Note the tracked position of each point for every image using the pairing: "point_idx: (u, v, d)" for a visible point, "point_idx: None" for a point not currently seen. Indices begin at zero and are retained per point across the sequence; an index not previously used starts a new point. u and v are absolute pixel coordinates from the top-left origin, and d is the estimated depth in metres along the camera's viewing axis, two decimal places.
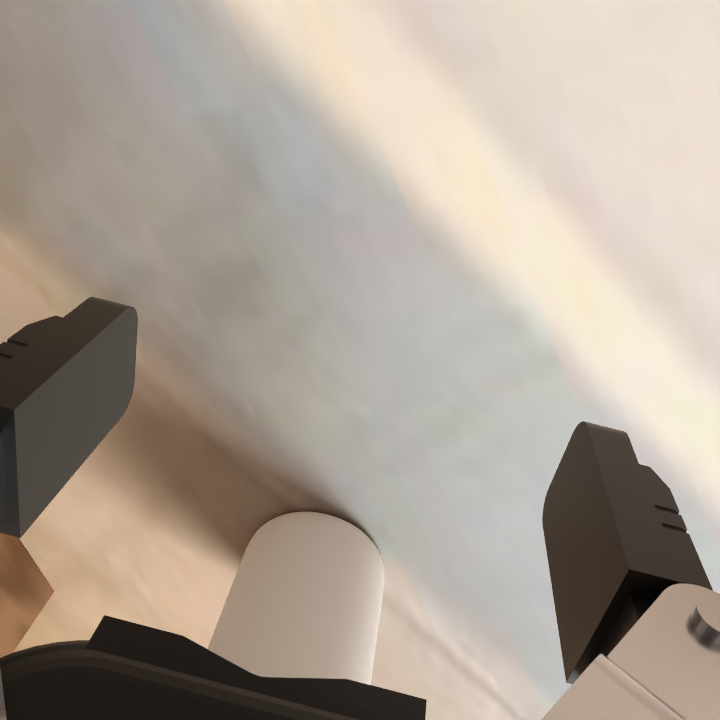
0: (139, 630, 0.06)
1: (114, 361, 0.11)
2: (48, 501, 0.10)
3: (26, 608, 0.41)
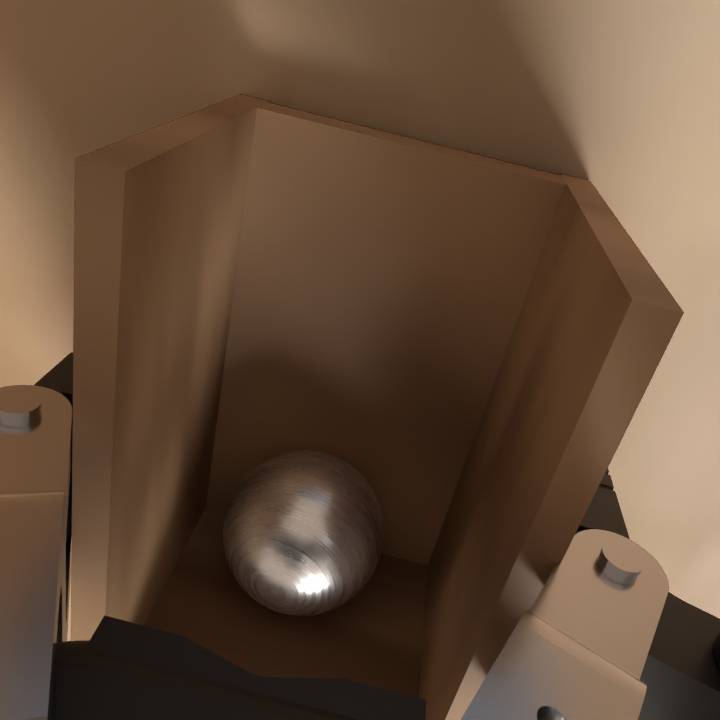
0: (139, 629, 0.06)
1: None
2: None
3: None
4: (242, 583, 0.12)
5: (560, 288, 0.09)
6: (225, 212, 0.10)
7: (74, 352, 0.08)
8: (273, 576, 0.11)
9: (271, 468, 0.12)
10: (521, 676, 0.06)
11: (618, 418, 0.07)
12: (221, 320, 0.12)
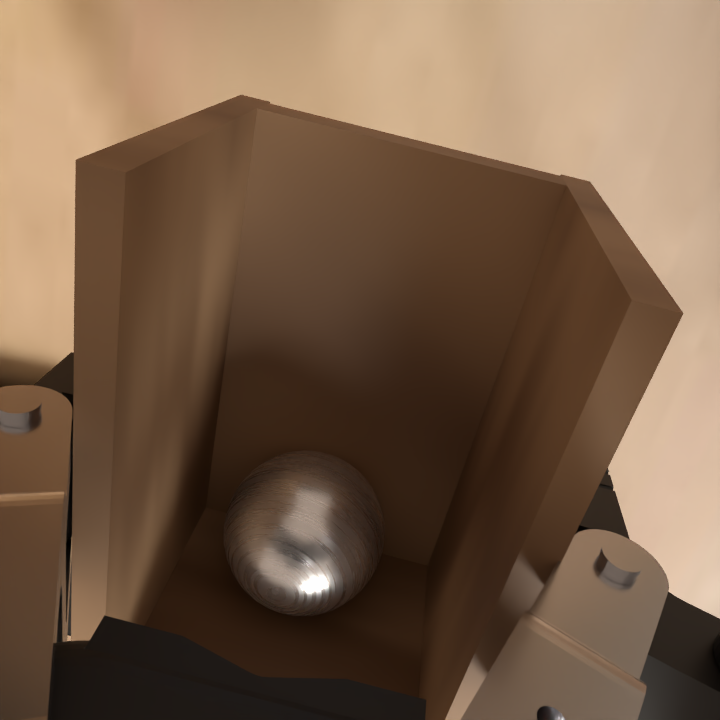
0: (139, 630, 0.06)
1: None
2: None
3: None
4: (242, 583, 0.12)
5: (560, 289, 0.09)
6: (226, 212, 0.10)
7: (75, 352, 0.08)
8: (274, 576, 0.11)
9: (272, 468, 0.12)
10: (521, 676, 0.06)
11: (618, 419, 0.07)
12: (221, 320, 0.12)
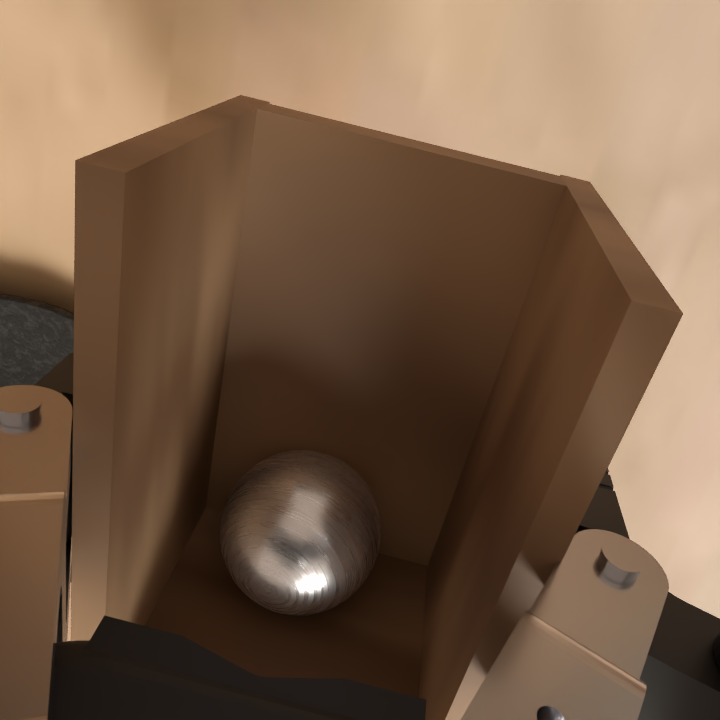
0: (139, 630, 0.06)
1: None
2: None
3: None
4: (236, 580, 0.12)
5: (560, 289, 0.09)
6: (226, 213, 0.10)
7: (74, 352, 0.08)
8: (266, 574, 0.11)
9: (269, 466, 0.12)
10: (521, 676, 0.06)
11: (617, 419, 0.07)
12: (221, 321, 0.12)
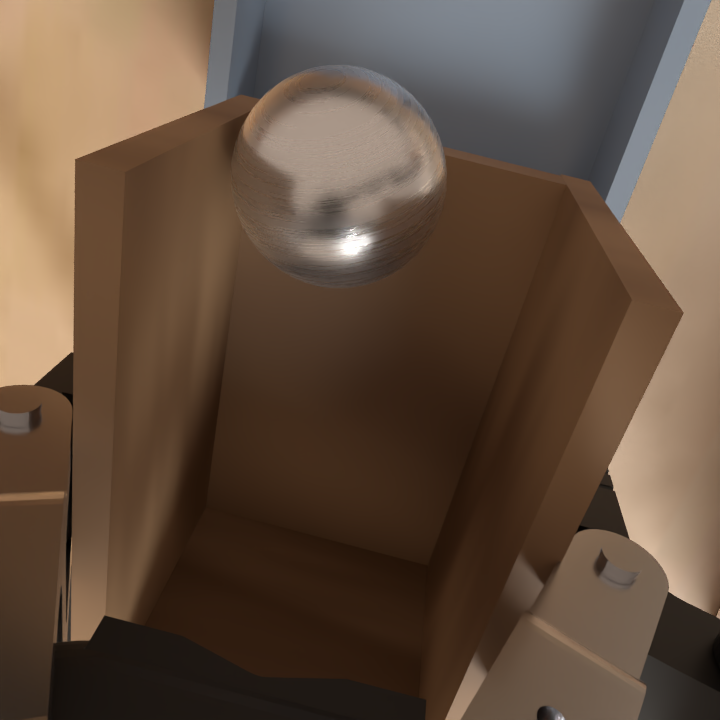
0: (139, 630, 0.06)
1: None
2: None
3: None
4: None
5: (560, 288, 0.09)
6: (226, 212, 0.10)
7: (74, 351, 0.08)
8: None
9: (265, 240, 0.09)
10: (521, 676, 0.06)
11: (617, 418, 0.07)
12: (221, 320, 0.12)
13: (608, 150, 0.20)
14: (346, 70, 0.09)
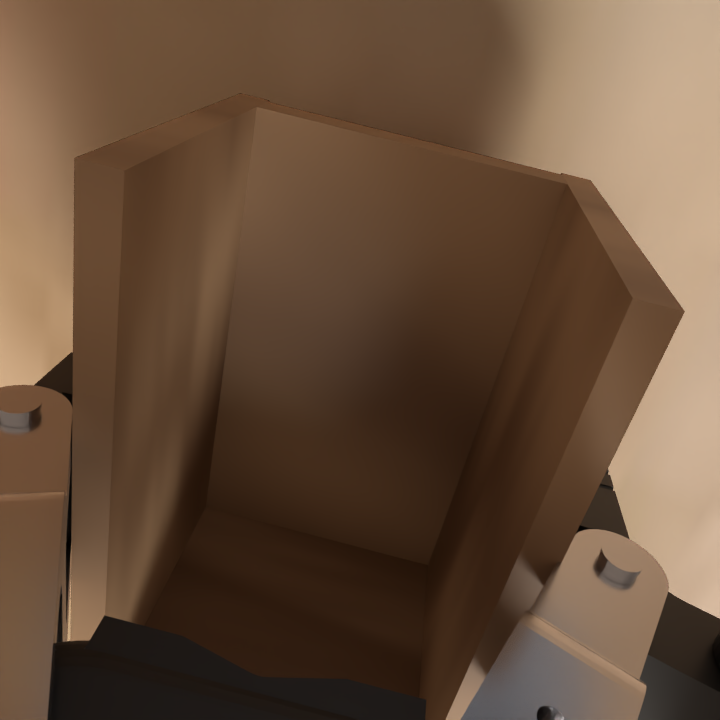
0: (139, 629, 0.06)
1: None
2: None
3: None
4: None
5: (560, 287, 0.09)
6: (225, 211, 0.10)
7: (74, 351, 0.08)
8: None
9: None
10: (521, 676, 0.06)
11: (619, 417, 0.07)
12: (221, 320, 0.12)
13: None
14: None
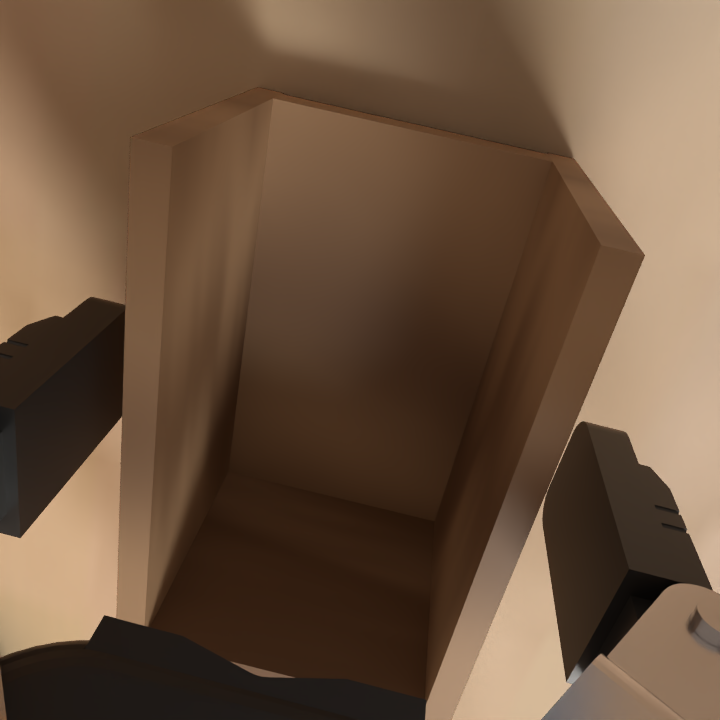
0: (139, 629, 0.06)
1: (115, 361, 0.11)
2: (49, 501, 0.10)
3: None
4: None
5: (546, 250, 0.11)
6: (247, 192, 0.12)
7: (126, 307, 0.09)
8: None
9: None
10: (586, 718, 0.06)
11: (593, 350, 0.08)
12: (243, 292, 0.13)
13: None
14: None
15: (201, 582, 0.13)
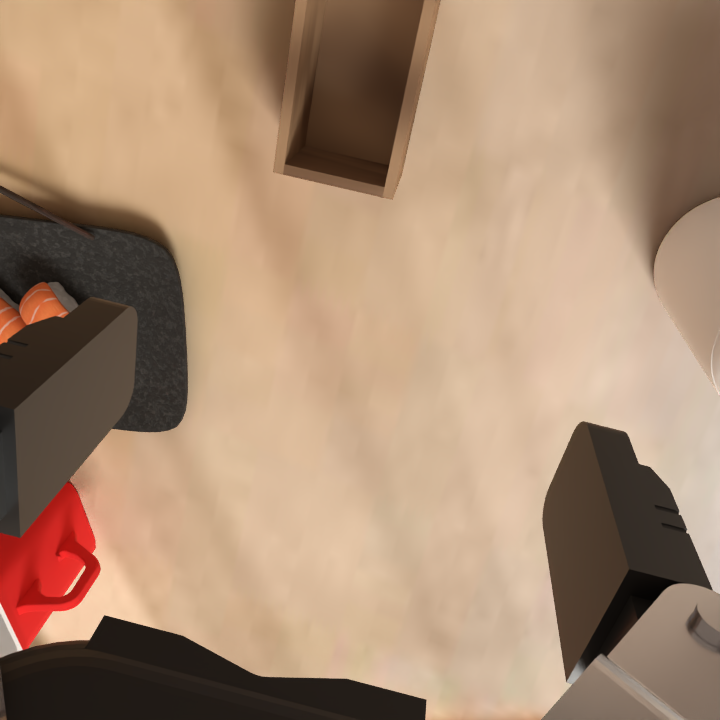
0: (138, 630, 0.06)
1: (114, 361, 0.11)
2: (49, 501, 0.10)
3: (402, 165, 0.36)
4: None
5: None
6: (322, 3, 0.33)
7: (293, 19, 0.30)
8: None
9: None
10: (586, 718, 0.06)
11: (427, 25, 0.29)
12: (317, 50, 0.34)
13: None
14: None
15: (301, 160, 0.34)
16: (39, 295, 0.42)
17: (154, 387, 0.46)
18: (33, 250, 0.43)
